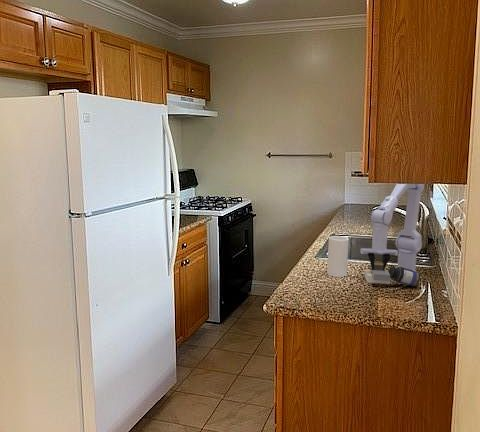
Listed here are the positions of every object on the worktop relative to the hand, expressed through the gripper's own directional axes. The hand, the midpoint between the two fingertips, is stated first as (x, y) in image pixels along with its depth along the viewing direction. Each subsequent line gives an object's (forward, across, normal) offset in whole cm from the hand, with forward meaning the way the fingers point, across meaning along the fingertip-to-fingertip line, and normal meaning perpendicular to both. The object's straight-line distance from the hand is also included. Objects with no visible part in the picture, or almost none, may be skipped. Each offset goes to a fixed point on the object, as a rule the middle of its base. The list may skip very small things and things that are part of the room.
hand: (377, 271), depth 195 cm
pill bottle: (+1, +14, -6) cm, 16 cm away
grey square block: (+1, 0, -8) cm, 8 cm away
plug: (+2, 0, 0) cm, 2 cm away
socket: (+4, 0, 0) cm, 4 cm away
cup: (+4, -16, +5) cm, 17 cm away
